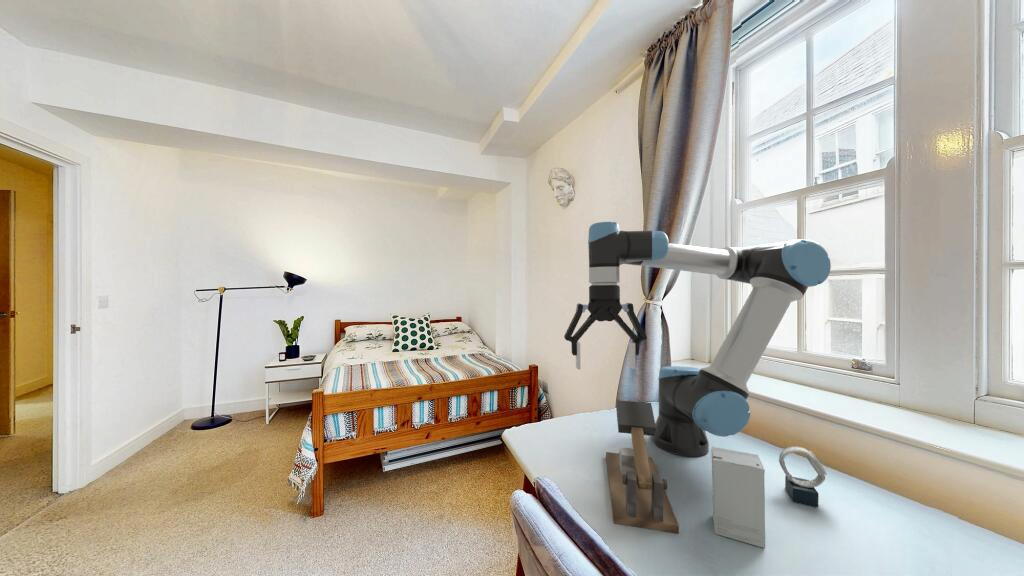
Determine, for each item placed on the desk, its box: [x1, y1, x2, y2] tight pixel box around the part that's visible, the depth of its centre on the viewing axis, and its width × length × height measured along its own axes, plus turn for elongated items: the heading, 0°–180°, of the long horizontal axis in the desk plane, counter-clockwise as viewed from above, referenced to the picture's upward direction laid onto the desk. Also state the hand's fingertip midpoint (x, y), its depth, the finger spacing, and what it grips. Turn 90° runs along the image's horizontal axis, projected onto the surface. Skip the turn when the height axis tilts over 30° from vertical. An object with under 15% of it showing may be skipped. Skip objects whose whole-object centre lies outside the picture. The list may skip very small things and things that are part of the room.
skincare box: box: [711, 446, 766, 549], centre depth 64 cm, size 8×6×15 cm
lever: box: [615, 399, 656, 490], centre depth 74 cm, size 8×20×3 cm, turn 167°
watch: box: [778, 446, 828, 508], centre depth 75 cm, size 6×8×11 cm
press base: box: [605, 446, 680, 534], centre depth 78 cm, size 12×26×9 cm, turn 167°
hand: (605, 368), depth 84 cm, fingers open, 13 cm apart
